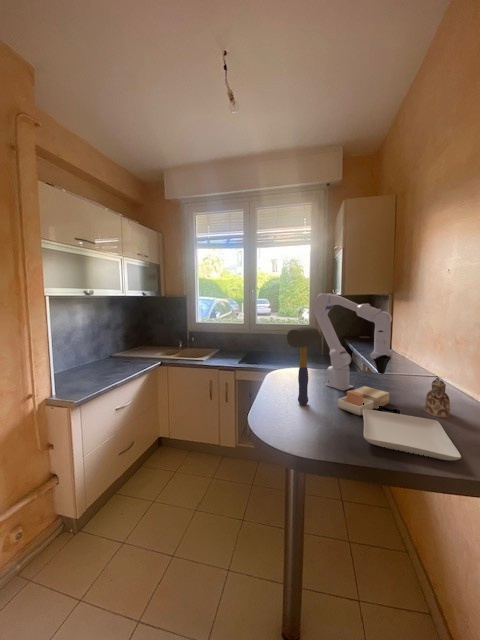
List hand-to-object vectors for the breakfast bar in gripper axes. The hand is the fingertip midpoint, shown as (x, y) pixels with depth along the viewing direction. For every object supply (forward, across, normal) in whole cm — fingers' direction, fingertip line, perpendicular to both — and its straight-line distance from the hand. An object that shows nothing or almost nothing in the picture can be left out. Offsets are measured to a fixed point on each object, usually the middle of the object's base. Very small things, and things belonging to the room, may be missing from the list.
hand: (381, 373), depth 107 cm
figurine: (+10, -1, -20) cm, 22 cm away
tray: (+9, -20, -1) cm, 23 cm away
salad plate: (+10, -28, -20) cm, 36 cm away
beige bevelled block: (+9, -10, -1) cm, 14 cm away
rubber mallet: (+10, -33, +13) cm, 37 cm away
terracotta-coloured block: (+6, -19, -1) cm, 20 cm away
